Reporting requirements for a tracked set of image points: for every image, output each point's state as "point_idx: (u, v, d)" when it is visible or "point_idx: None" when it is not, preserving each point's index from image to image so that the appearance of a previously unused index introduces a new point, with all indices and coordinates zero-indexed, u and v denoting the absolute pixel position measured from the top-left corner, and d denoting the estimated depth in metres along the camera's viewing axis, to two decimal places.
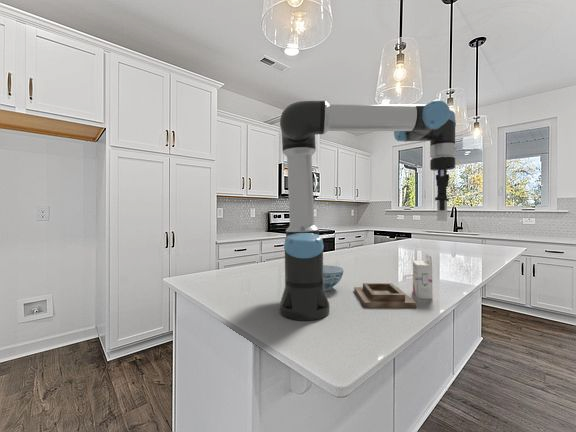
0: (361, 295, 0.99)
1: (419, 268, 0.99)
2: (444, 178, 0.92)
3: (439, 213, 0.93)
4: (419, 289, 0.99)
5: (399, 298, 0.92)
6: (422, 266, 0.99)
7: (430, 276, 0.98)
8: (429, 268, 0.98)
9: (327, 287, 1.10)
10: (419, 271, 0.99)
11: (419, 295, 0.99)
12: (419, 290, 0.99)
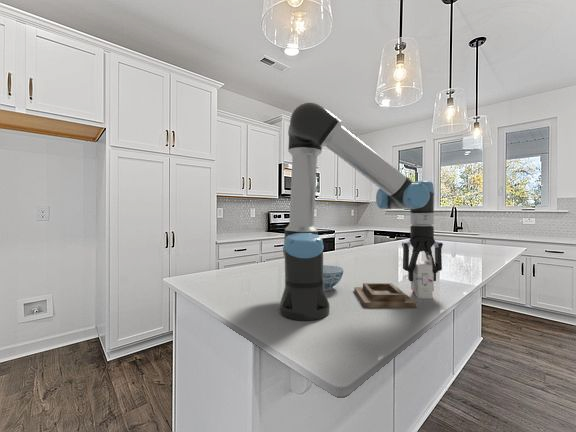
0: (361, 295, 0.99)
1: (419, 268, 0.99)
2: (405, 251, 1.02)
3: (411, 283, 1.04)
4: (419, 289, 0.99)
5: (399, 298, 0.92)
6: (422, 266, 0.99)
7: (430, 276, 0.98)
8: (429, 268, 0.98)
9: (327, 287, 1.10)
10: (419, 271, 0.99)
11: (419, 295, 0.99)
12: (419, 290, 0.99)
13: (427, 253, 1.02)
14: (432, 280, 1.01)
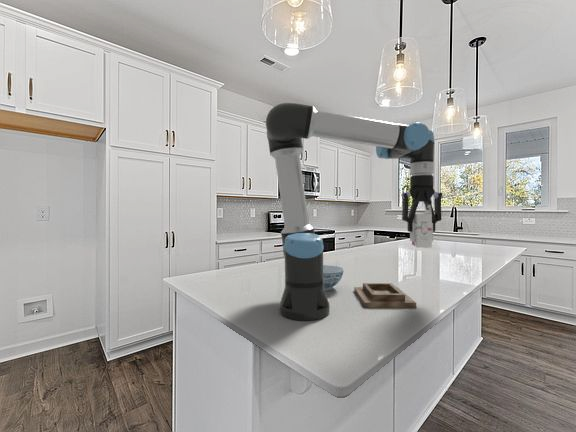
0: (361, 295, 0.99)
1: (418, 217, 0.99)
2: (404, 201, 1.02)
3: (410, 234, 1.03)
4: (418, 238, 0.99)
5: (399, 298, 0.92)
6: (421, 215, 0.98)
7: (429, 224, 0.98)
8: (428, 217, 0.98)
9: (327, 287, 1.10)
10: (418, 220, 0.99)
11: (418, 243, 0.99)
12: (418, 239, 0.99)
13: (427, 203, 1.02)
14: None
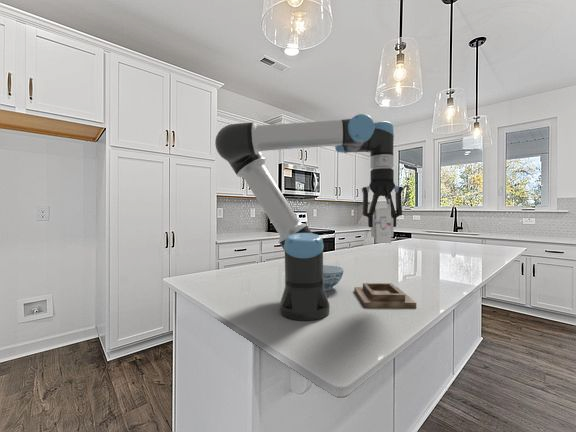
0: (361, 295, 0.99)
1: (377, 211, 0.95)
2: (364, 196, 0.99)
3: (371, 230, 1.00)
4: (377, 233, 0.96)
5: (399, 298, 0.92)
6: (380, 209, 0.95)
7: (389, 219, 0.95)
8: (387, 211, 0.95)
9: (327, 287, 1.10)
10: (377, 214, 0.95)
11: (378, 239, 0.96)
12: (377, 234, 0.96)
13: (387, 198, 0.98)
14: (392, 225, 0.98)
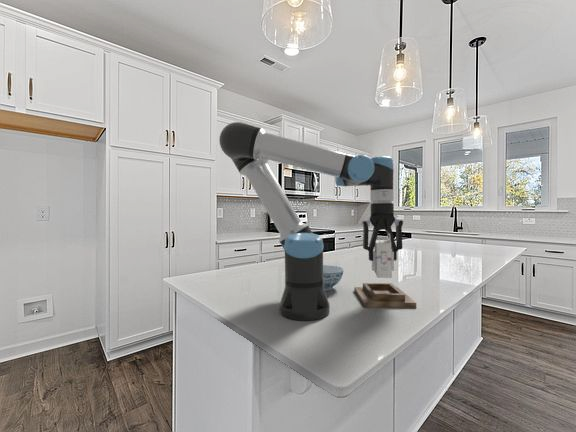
0: (361, 295, 0.99)
1: (378, 246, 0.96)
2: (364, 230, 0.99)
3: (372, 263, 1.00)
4: (378, 268, 0.96)
5: (399, 298, 0.92)
6: (381, 244, 0.95)
7: (389, 254, 0.95)
8: (387, 246, 0.95)
9: (327, 287, 1.10)
10: (378, 249, 0.96)
11: (378, 274, 0.96)
12: (378, 269, 0.96)
13: (387, 231, 0.99)
14: (392, 259, 0.98)
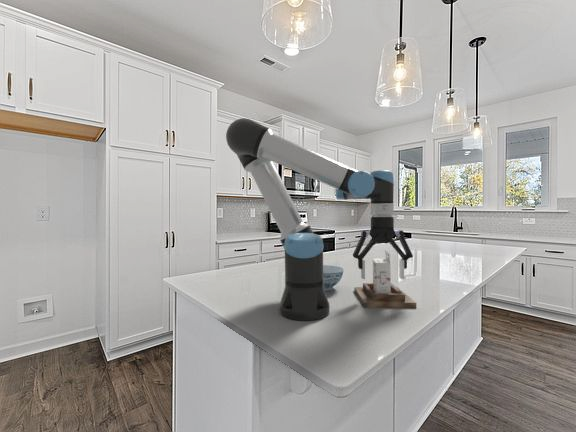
0: (361, 295, 0.99)
1: (377, 266, 0.96)
2: (361, 239, 0.99)
3: (361, 271, 1.01)
4: (377, 288, 0.96)
5: (399, 298, 0.92)
6: (380, 264, 0.95)
7: (388, 274, 0.95)
8: (387, 266, 0.95)
9: (327, 287, 1.10)
10: (377, 269, 0.96)
11: None
12: (377, 289, 0.96)
13: (391, 244, 0.99)
14: (403, 267, 0.98)
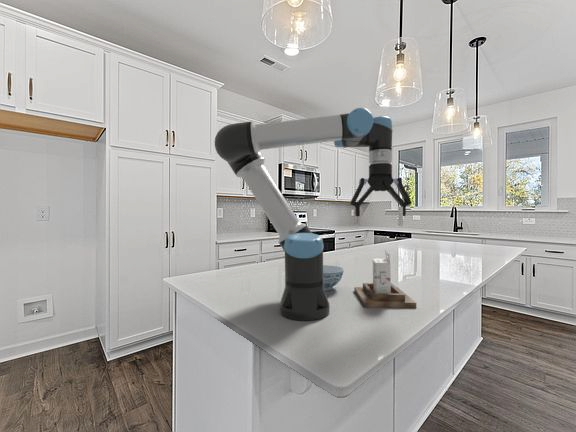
0: (361, 295, 0.99)
1: (377, 266, 0.96)
2: (359, 186, 0.99)
3: (358, 219, 1.00)
4: (377, 288, 0.96)
5: (399, 298, 0.92)
6: (380, 264, 0.95)
7: (388, 274, 0.95)
8: (387, 266, 0.95)
9: (327, 287, 1.10)
10: (377, 269, 0.96)
11: None
12: (377, 289, 0.96)
13: (390, 191, 0.98)
14: (401, 214, 0.98)
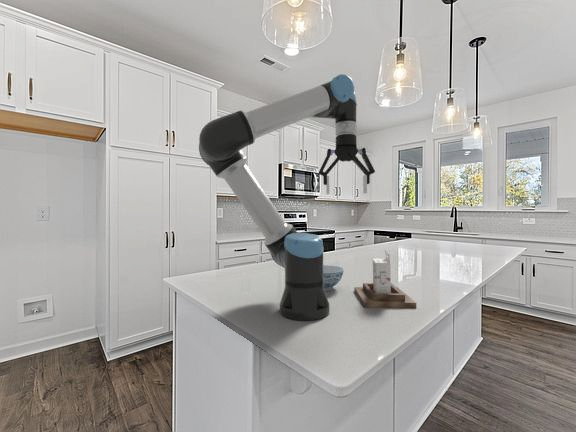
0: (361, 295, 0.99)
1: (377, 266, 0.96)
2: (326, 156, 1.06)
3: (326, 187, 1.07)
4: (377, 288, 0.96)
5: (399, 298, 0.92)
6: (380, 264, 0.95)
7: (388, 274, 0.95)
8: (387, 266, 0.95)
9: (327, 287, 1.10)
10: (377, 269, 0.96)
11: None
12: (377, 289, 0.96)
13: (355, 161, 1.05)
14: (365, 182, 1.05)
